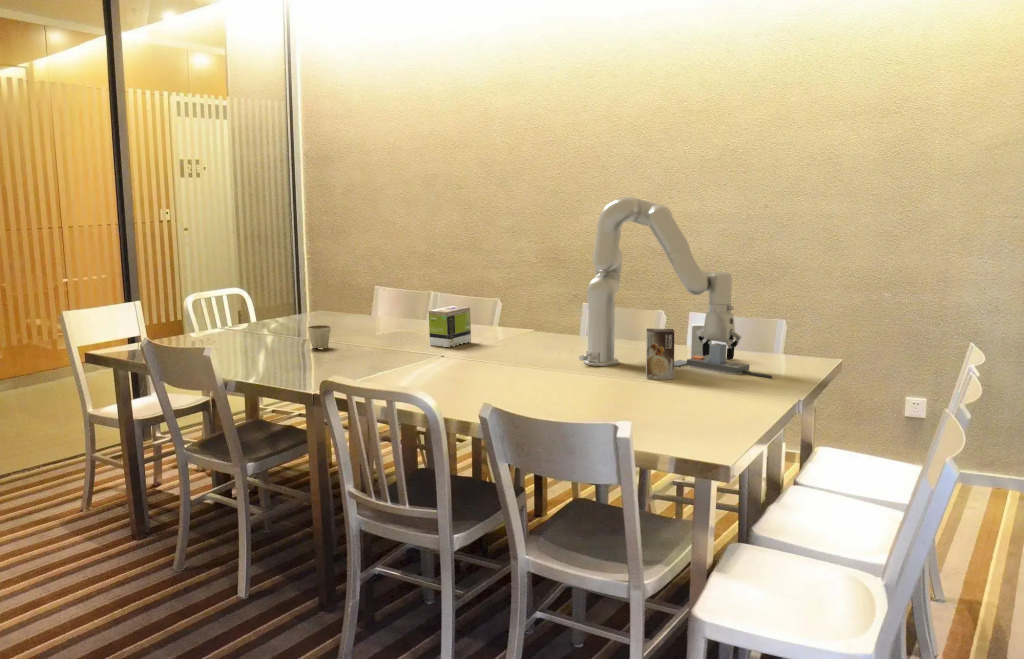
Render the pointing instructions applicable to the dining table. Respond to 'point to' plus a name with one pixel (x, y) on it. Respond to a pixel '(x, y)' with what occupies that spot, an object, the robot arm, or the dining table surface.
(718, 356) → the block
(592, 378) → the dining table surface
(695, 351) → the supplement box
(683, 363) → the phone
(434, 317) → the tea box
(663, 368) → the coffee box
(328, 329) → the flower pot
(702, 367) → the power strip
